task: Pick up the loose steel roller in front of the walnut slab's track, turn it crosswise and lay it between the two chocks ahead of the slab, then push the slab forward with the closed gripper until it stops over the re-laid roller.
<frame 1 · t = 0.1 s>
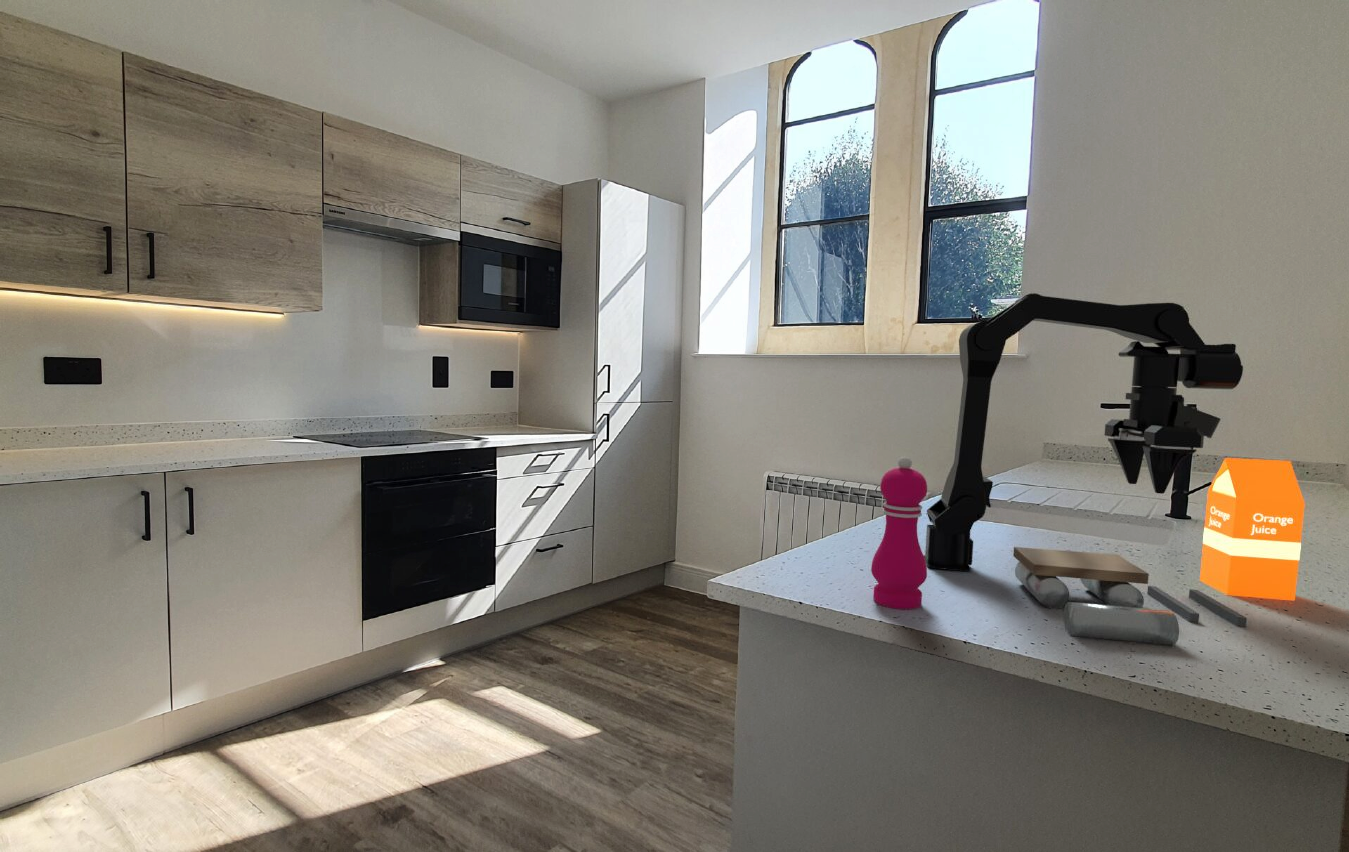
hand: (1145, 488, 107), 15 cm above the worktop, fingers open, 9 cm apart
orange juice: (1244, 591, 105), on the worktop
pepper mill: (897, 603, 95), on the worktop
loose roller: (1119, 623, 84), point 2 cm above the worktop
walnut slab: (1076, 564, 98), point 5 cm above the worktop, slide at 0.0 cm
track rollers: (1073, 598, 98), on the worktop
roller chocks: (1193, 609, 95), on the worktop
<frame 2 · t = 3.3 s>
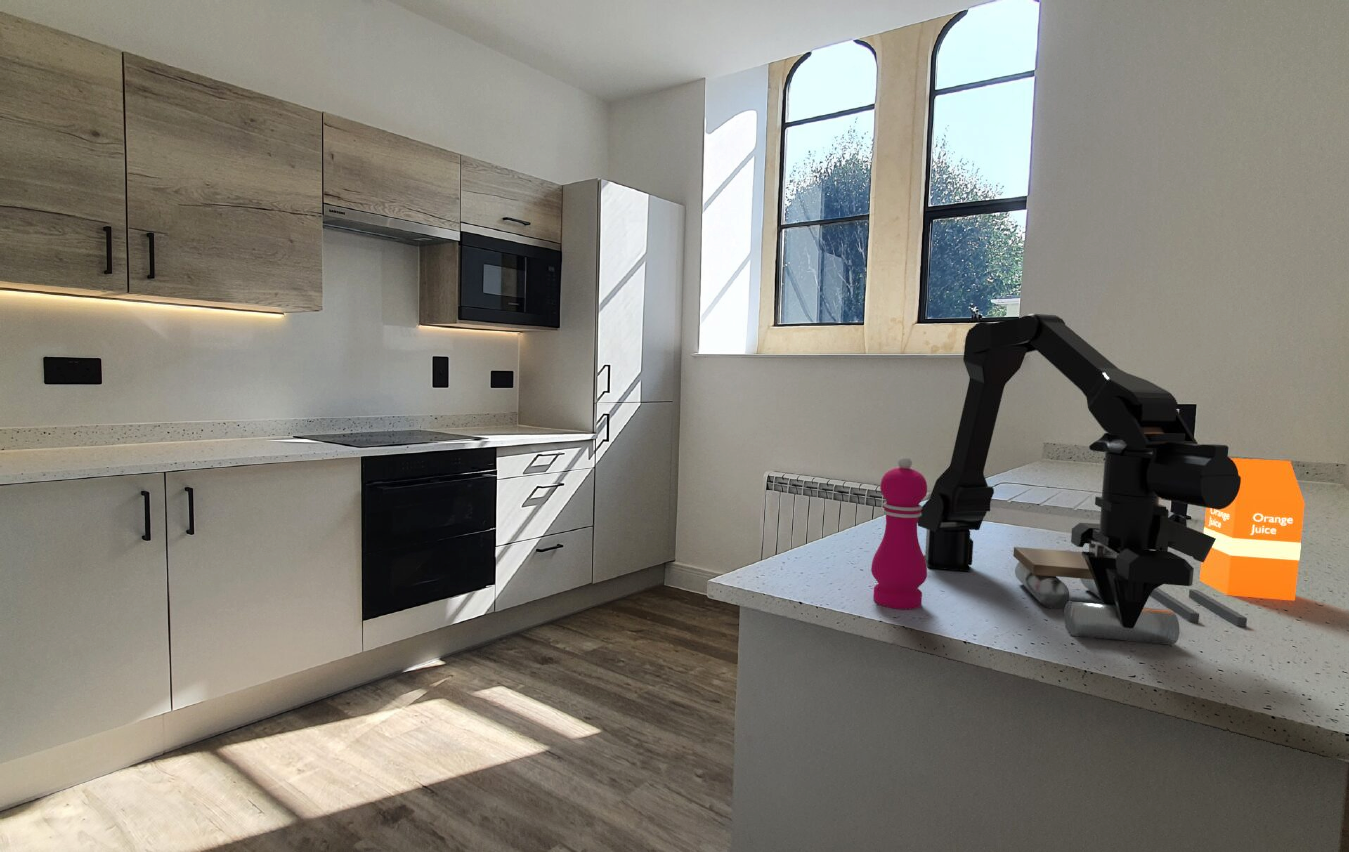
hand: (1120, 621, 84), 2 cm above the worktop, fingers closed on loose roller, 4 cm apart
loose roller: (1119, 622, 84), point 2 cm above the worktop, touching gripper
everything else where it was.
when the fingers open (2 cm above the worktop, at t = 8.3 s): loose roller stays where it is, point 2 cm above the worktop.
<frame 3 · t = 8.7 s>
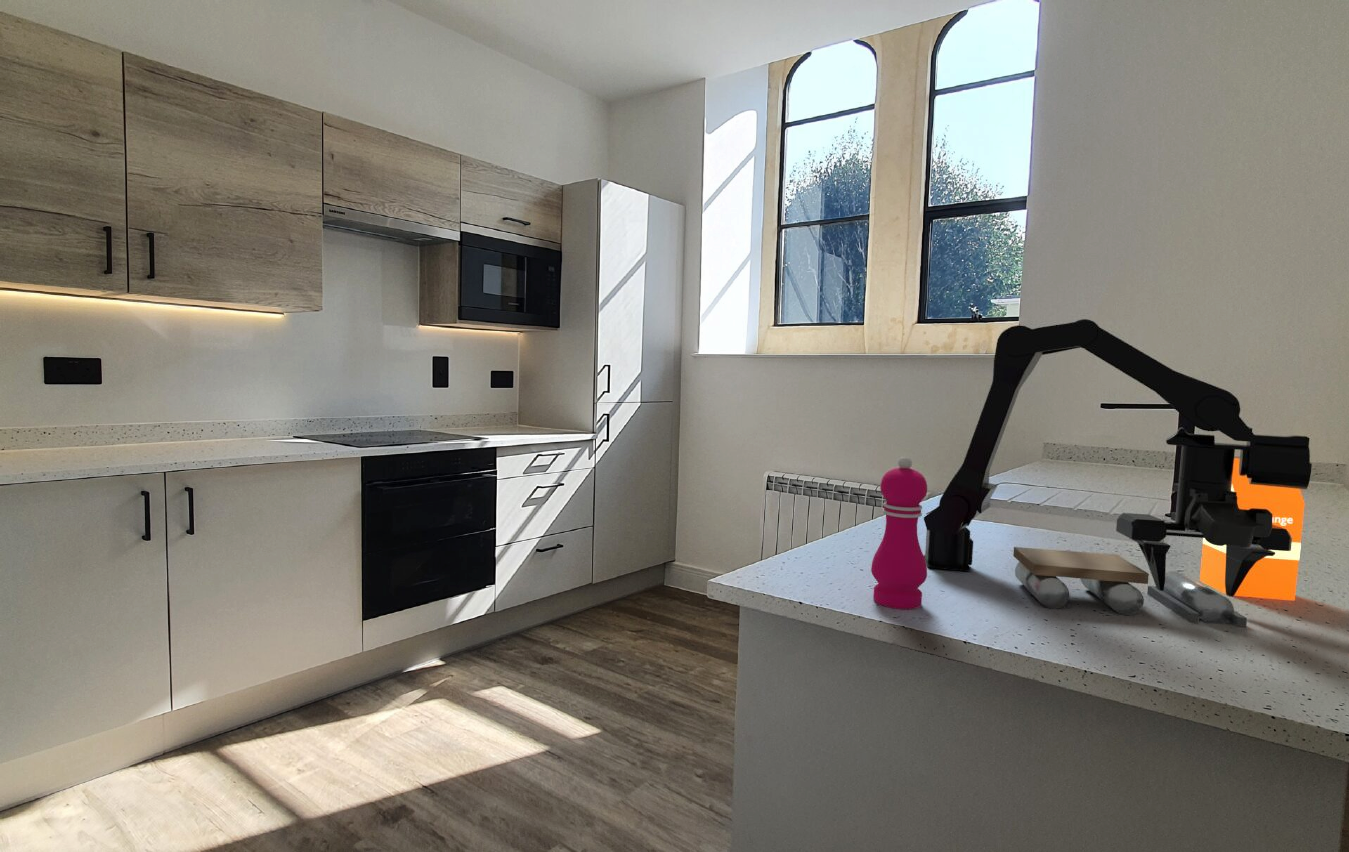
hand: (1194, 592, 95), 2 cm above the worktop, fingers open, 8 cm apart
loose roller: (1193, 596, 95), point 2 cm above the worktop
everything else where it was.
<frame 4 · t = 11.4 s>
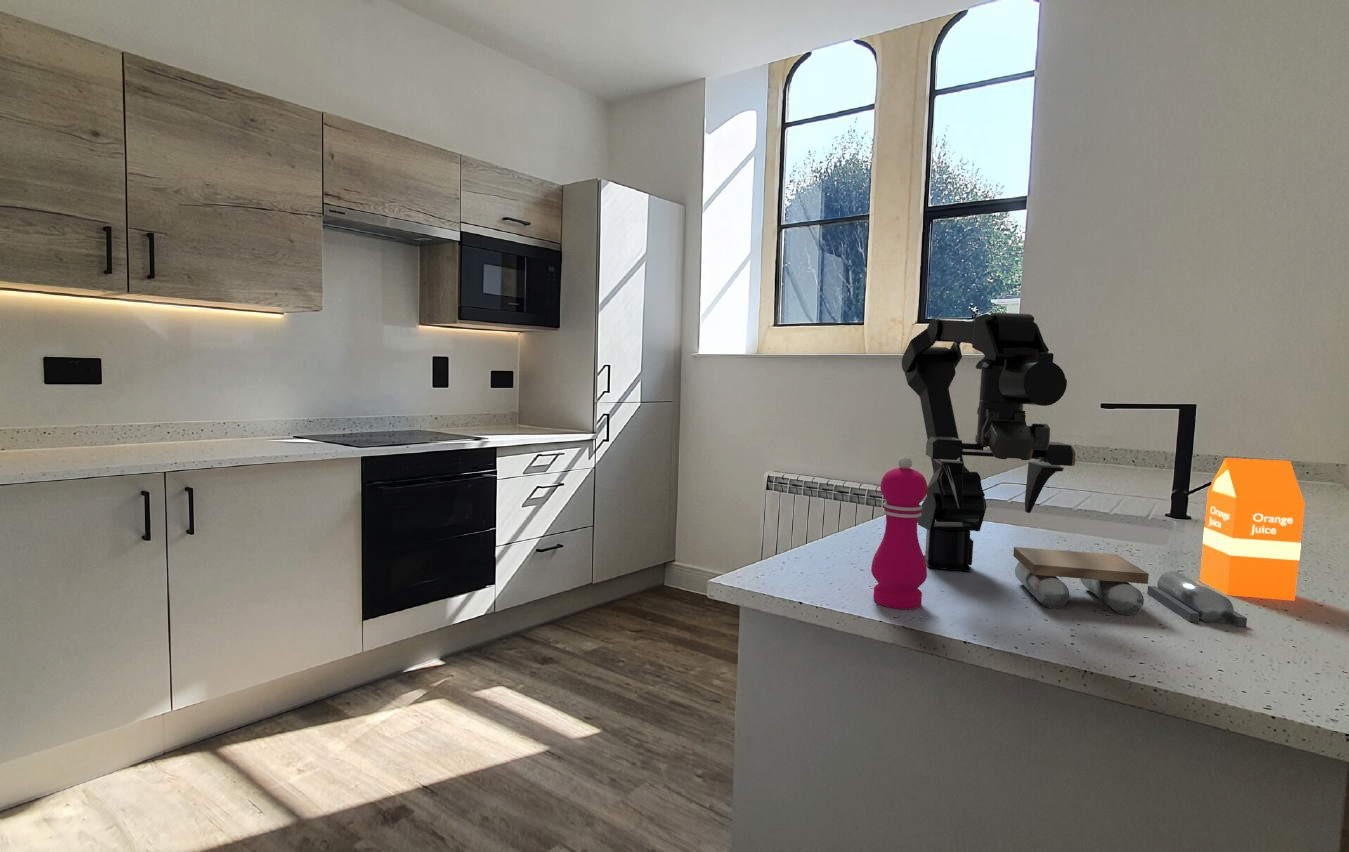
hand: (993, 510, 100), 12 cm above the worktop, fingers open, 9 cm apart
nothing on the worktop moved.
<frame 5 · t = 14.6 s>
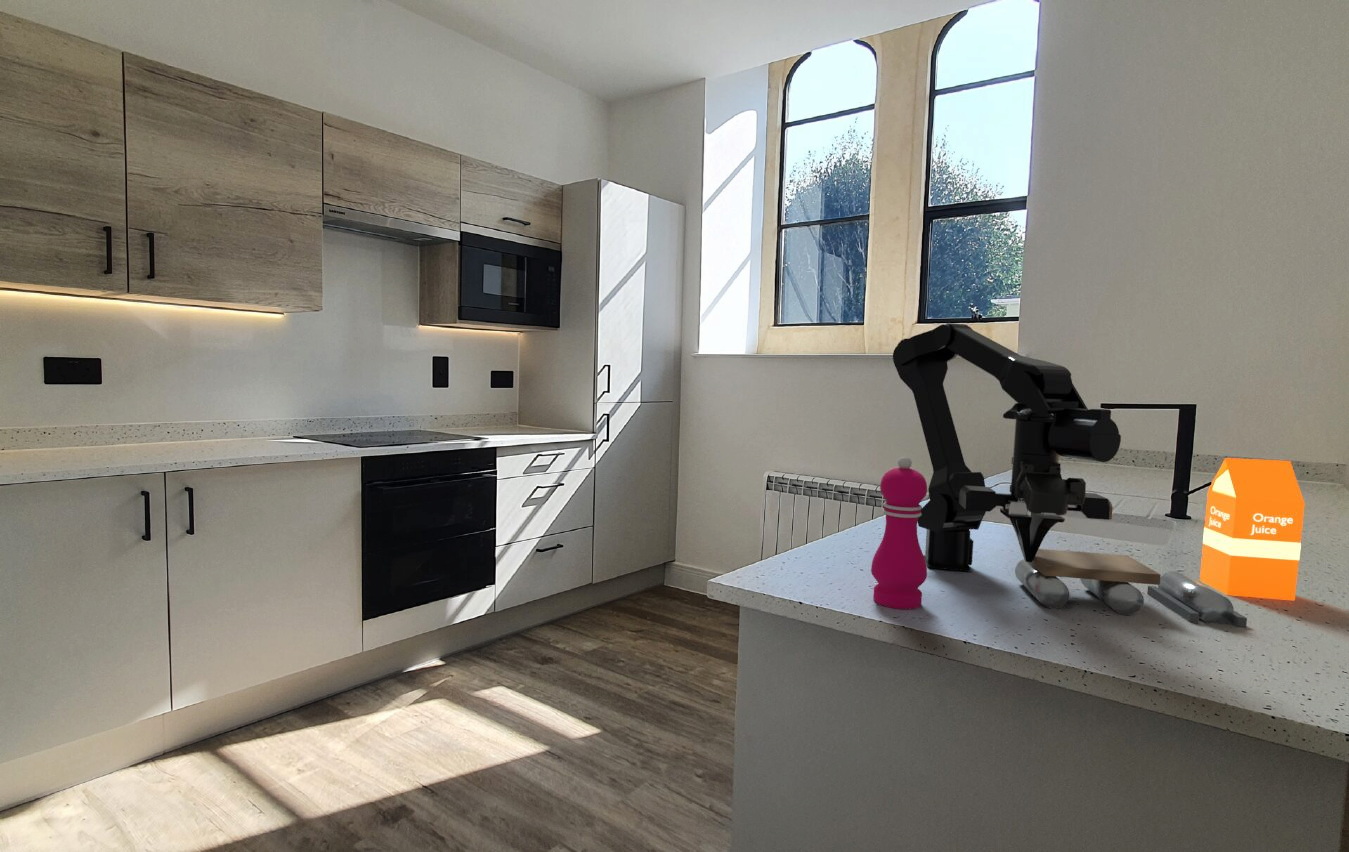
hand: (1028, 561, 99), 5 cm above the worktop, fingers closed
walnut slab: (1087, 565, 98), point 5 cm above the worktop, slide at 1.4 cm, touching gripper
everything else where it was.
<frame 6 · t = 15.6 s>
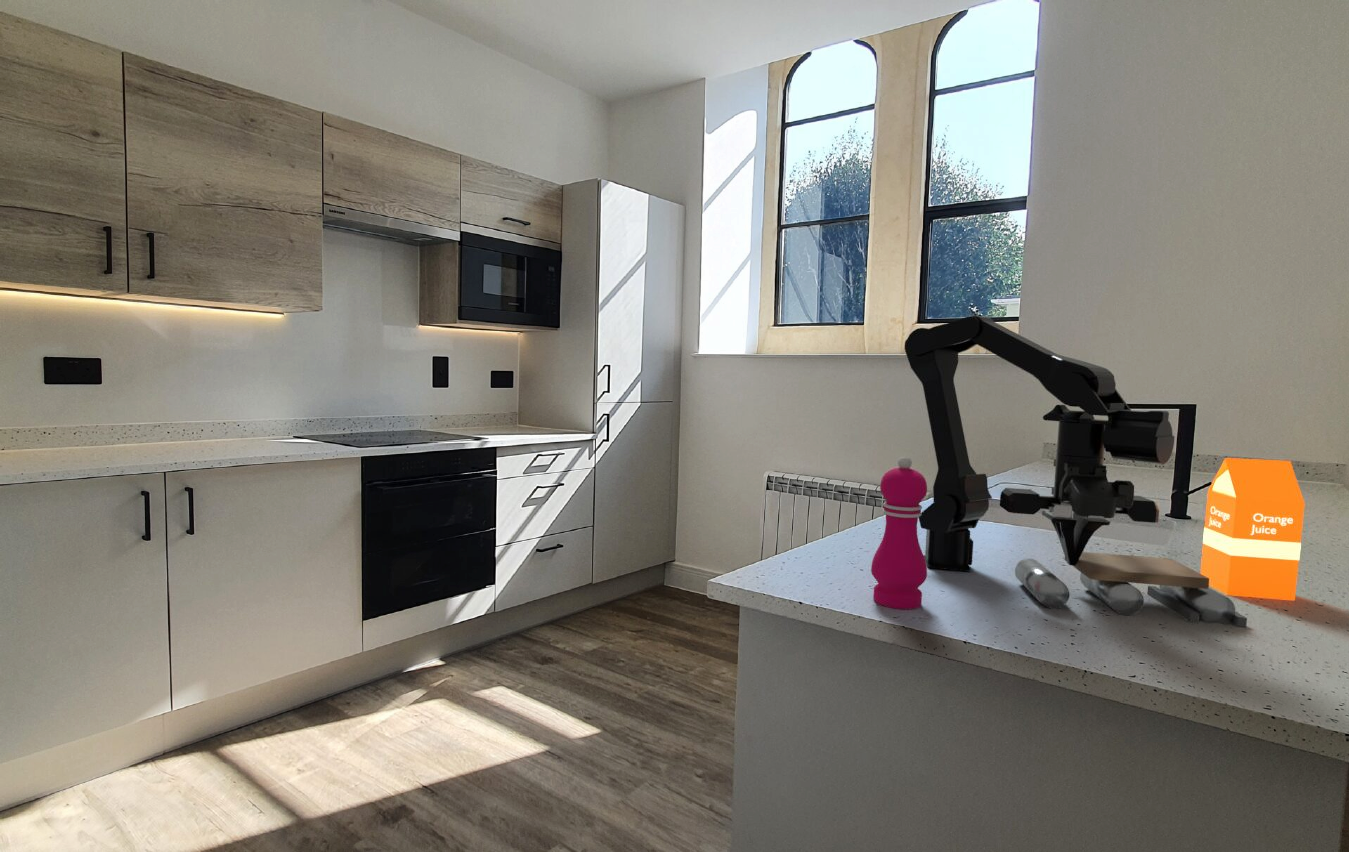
hand: (1071, 564, 98), 5 cm above the worktop, fingers closed
walnut slab: (1132, 568, 97), point 5 cm above the worktop, slide at 7.1 cm, touching gripper
everything else where it was.
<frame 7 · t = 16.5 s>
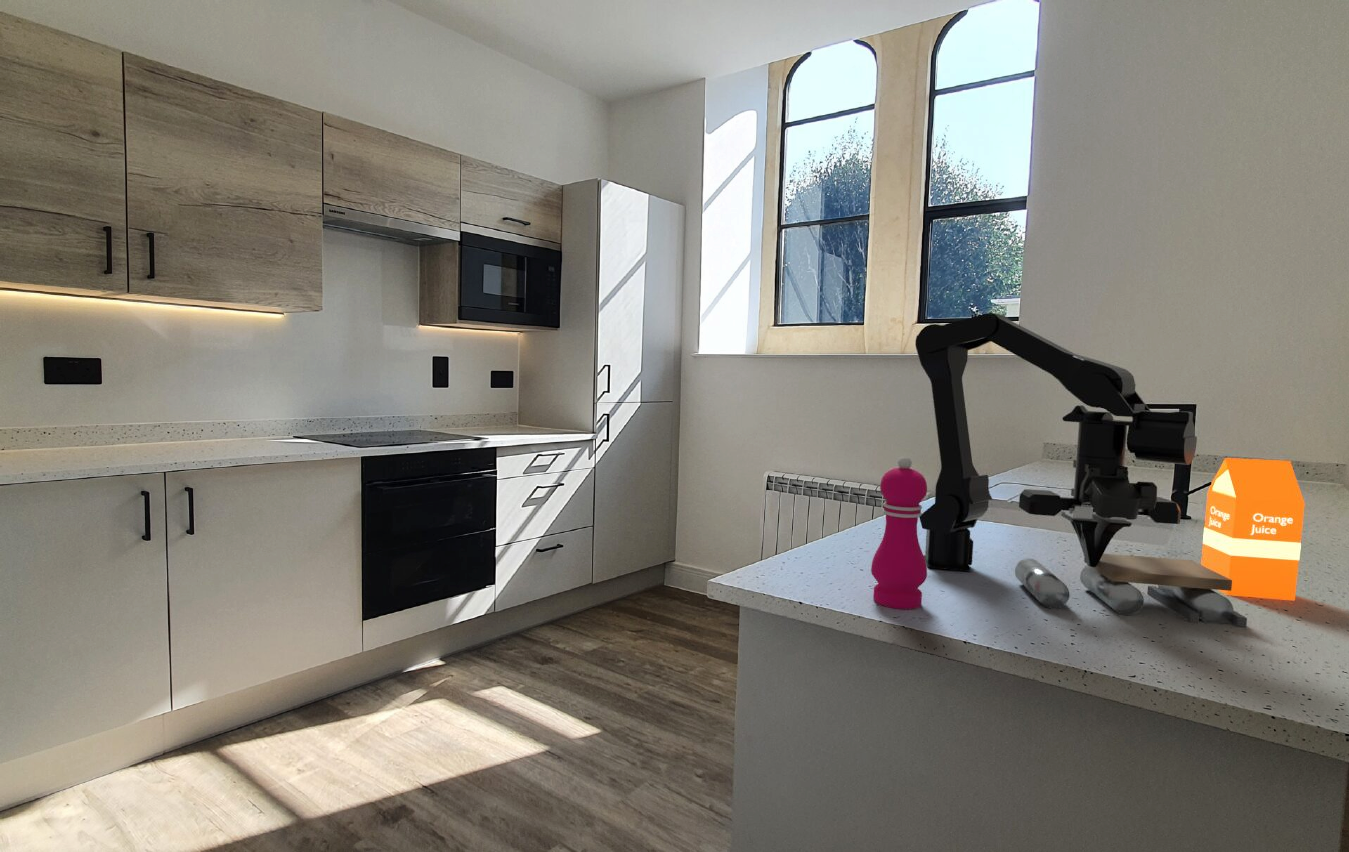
hand: (1091, 566, 98), 5 cm above the worktop, fingers closed
walnut slab: (1153, 570, 96), point 5 cm above the worktop, slide at 9.7 cm, touching gripper
everything else where it was.
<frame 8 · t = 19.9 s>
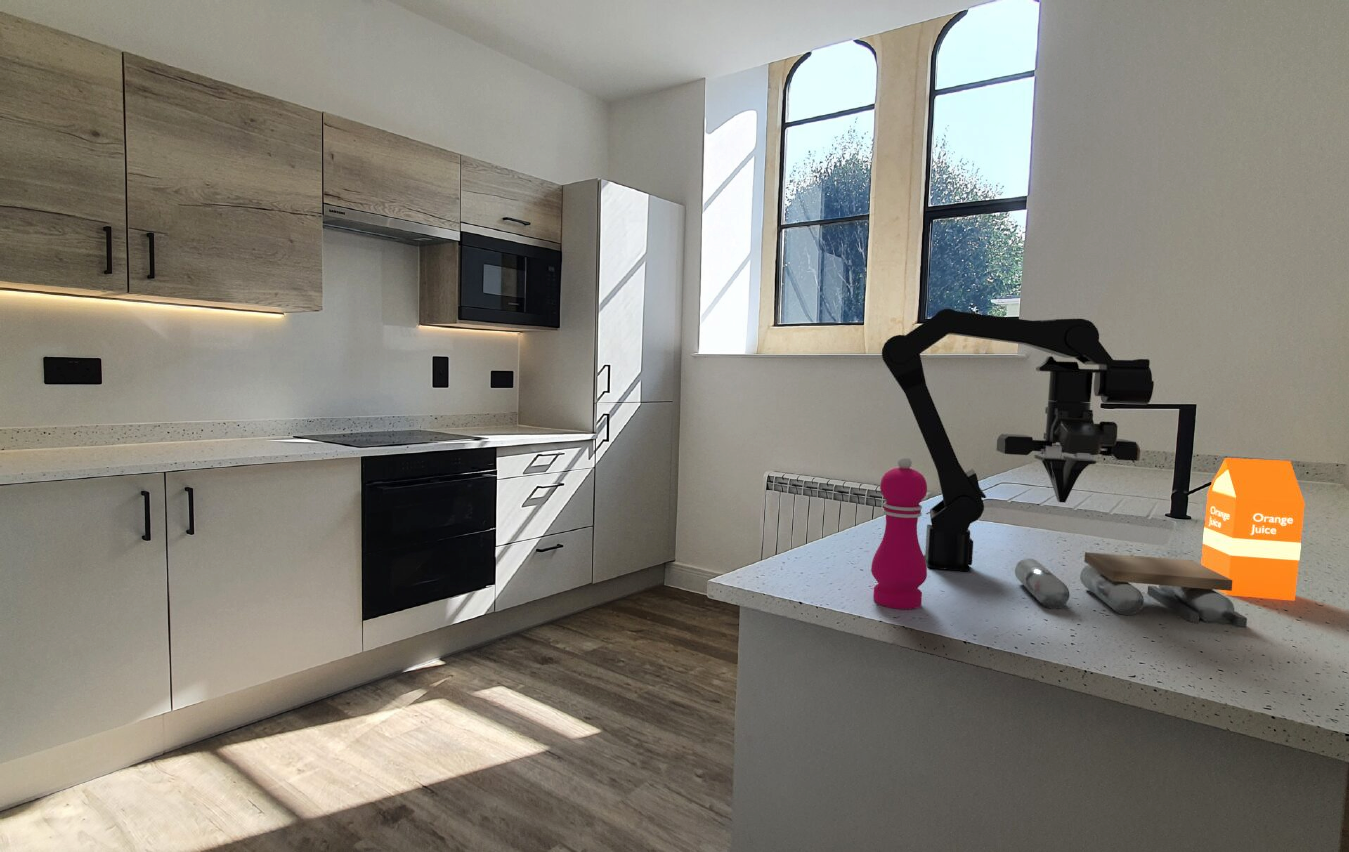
hand: (1061, 502, 108), 12 cm above the worktop, fingers closed
walnut slab: (1153, 570, 96), point 5 cm above the worktop, slide at 9.7 cm
everything else where it was.
at the end: walnut slab slide at 9.7 cm; loose roller inside the target area (0.0 cm from its centre), point 1.8 cm above the worktop; the gripper is holding nothing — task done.
